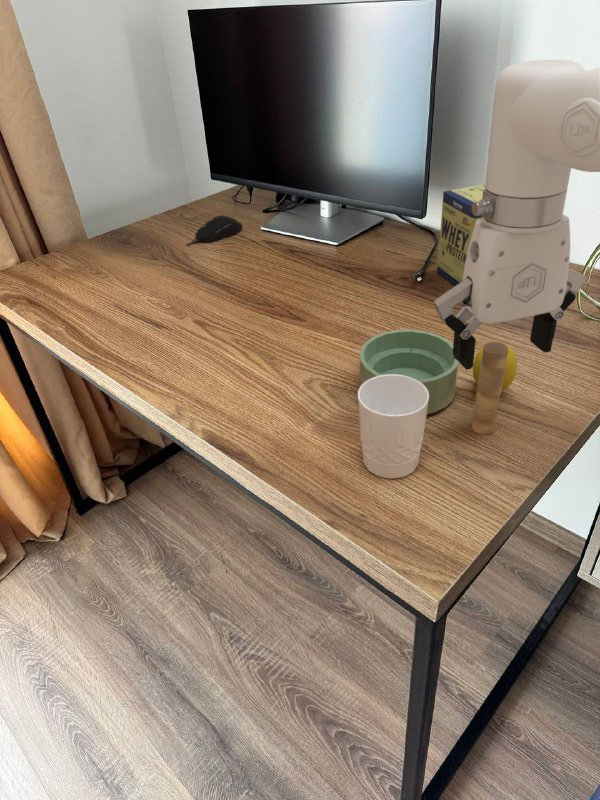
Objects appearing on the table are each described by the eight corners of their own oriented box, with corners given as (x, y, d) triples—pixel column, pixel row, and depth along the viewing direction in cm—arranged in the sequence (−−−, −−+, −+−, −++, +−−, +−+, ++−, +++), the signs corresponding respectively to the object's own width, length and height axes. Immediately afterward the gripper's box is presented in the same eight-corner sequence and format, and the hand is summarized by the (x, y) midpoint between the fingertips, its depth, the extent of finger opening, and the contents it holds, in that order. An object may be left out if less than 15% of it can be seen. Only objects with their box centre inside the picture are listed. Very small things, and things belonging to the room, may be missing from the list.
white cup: (428, 444, 73) (434, 379, 67) (417, 488, 67) (422, 421, 61) (366, 434, 75) (367, 369, 69) (350, 475, 69) (349, 409, 64)
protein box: (435, 272, 112) (441, 190, 103) (505, 257, 116) (517, 176, 106) (465, 295, 104) (475, 208, 95) (539, 278, 108) (556, 192, 98)
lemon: (516, 387, 81) (526, 337, 77) (504, 409, 78) (513, 358, 73) (477, 377, 84) (484, 328, 79) (463, 397, 80) (470, 347, 75)
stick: (487, 419, 76) (500, 339, 69) (498, 432, 74) (513, 351, 67) (467, 423, 76) (478, 344, 69) (478, 436, 74) (490, 356, 66)
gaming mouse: (179, 242, 133) (176, 225, 130) (232, 224, 140) (230, 207, 138) (194, 249, 129) (191, 232, 126) (248, 230, 136) (246, 213, 134)
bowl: (430, 357, 89) (433, 322, 85) (472, 408, 78) (477, 370, 75) (347, 374, 87) (347, 339, 83) (379, 428, 76) (380, 391, 73)
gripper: (459, 232, 53) (446, 387, 63) (626, 203, 56) (589, 356, 66) (424, 208, 59) (418, 353, 69) (577, 183, 62) (550, 326, 72)
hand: (501, 354), depth 67 cm, fingers open, 9 cm apart
